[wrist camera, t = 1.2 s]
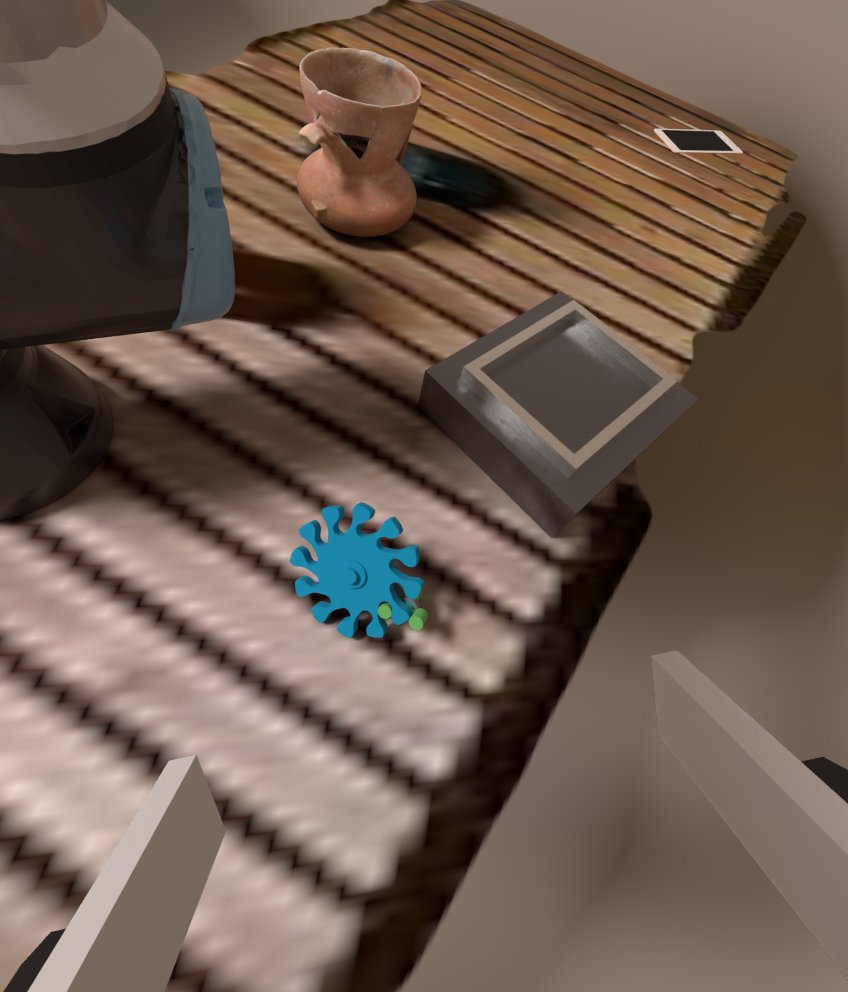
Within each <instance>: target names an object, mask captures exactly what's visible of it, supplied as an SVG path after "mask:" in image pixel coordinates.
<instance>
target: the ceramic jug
mask: <svg viewBox="0 0 848 992" xmlns="http://www.w3.org/2000/svg"><path fill="white" fill-rule="evenodd" d="M300 78H301V84H302V89H303V94H304V98H305V102H306V105H307V109H308V112H309V115H310V119H311V121H312V123H310V124H308V125H306V126H305V127H303V128H302V129H301V130H300V132H299V137H300V139H301V140H302V141H303V143H304V144H305V145H307V146H310V147H316V146H317V145H318V144H319V143H320V144H321V146H322V148H321V149H319V150H317V151H316V152H314V153H312V154H311V155H310V156H309V157H308V158H307V159H306V160H305V161H304V162H303V164H302V166H301V168H300V170H299V173H298V178H297V186H298V192H299V195H300V198H301V200H302V202H303V204H304V206H305V208H306V209H307V210H308V212H309V213H310V214H311V215H312V216H313V217H314V218H315V219H316V220H317V221H319V222H320V223H322V224H323V225H325V226H326V227H328V228H330V229H332V230H335V231H337V232H340V233H343V234H347V235H352V236H359V237H375V236H381V235H386V234H389V233H392V232H394V231H396V230H398V229H399V228H401V227H402V226H403V225H405V224H406V223H407V222H408V220H409V219H410V218H411V216H412V214H413V212H414V210H415V207H416V202H417V195H416V189H415V186H414V183H413V181H412V179H411V177H410V176H409V174H408V173H407V172H406V170H405V169H404V168H403V167H402V166H401V165H400V162H401V160H402V158H403V155H404V153H405V150H406V146H407V143H408V140H409V137H410V133H411V129H412V125H413V121H414V119H415V116H416V113H417V109H418V106H419V102H420V98H421V92H422V89H421V84H420V82H419V80H418V78H417V77H416V75H415V74H414V73H413V72H412V71H410V70H408V69H407V68H406V66H404V65H403V64H401V63H400V62H398V61H396V60H394V59H392V58H387V57H384V56H381V55H379V54H377V53H374V52H371V51H365V50H358V49H353V48H327V49H319V50H316V51H314V52H311V53H309V54H308V55H306V57H304V58H303V59H302V61H301V64H300Z"/></svg>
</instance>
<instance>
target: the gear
mask: <svg viewBox="0 0 848 992" xmlns="http://www.w3.org/2000/svg"><path fill="white" fill-rule="evenodd" d="M374 514H375V510H374V509H373V508H372V507H371V506H369V505H367V504H365V503H362V502H361V503H359V504H357V505H356V506H355V507H354V508H353V521H352V524H351V527H350V528H349V530H348V531H347V532H346V533H343V532H341V531H340V529H339V527H338V524H339V522H340V520H341V519H342V518H343V516H344V508H343V507H342V506H337V505H335V506H328V507H326V508H324V509H323V510H322V516H323V518H324V520H325V521H326V524H327V527H328V532H329V533H328V542H327V543H325V542H323V541H322V540H321V537H320V533H321V526H320V524H319V522H318V521H316V520H314V521H311V522H309V523H307V524H305V525H304V526H303V527H301V528H300V529H299V533H300V535H301V536H302V537H303V538H304V539H306V540H307V541H308V542H309V543H310V544H311V545H312V546H313V548H314V549H315V552H316V554H317V557H318V562H317V561H314V560H313V559H312V557H311V554H310V552H309V550H308V549H307V548H306V547H304V546H300V547H298V548H296V549H295V550H294V551H293V553H292V555H291V558H290V562H291V564H293V565H294V566H300V567H304V568H307V569H308V570H310V571H311V572H313V573H314V574H315V575H316V576H317V577H318V579H319V583H316V582H315V581H314V580H313V579H311V578H310V577H309V576H302V577H301V578H299V579H298V580H296V582H295V587H296V592H297V595H298V596H306V595H307V594H310V593H320V594H324V595H327V596H328V597H329V598H330V600H331V603H327V602H324V601H321V602H319V603H317V604H316V605H315V606H314V607H313V608H312V609H311V612H312V614H313V616H314V617H315V619H316V620H317V621H318V622H319V623H321V622H324V621H325V620H326V619H327V618H328V617H329V616H330V615H331V613H332V611H334V610H336V609H340V608H346V609H347V610H348V611H349V612H350V616H349V617H346V618H344V619H343V620H342V621H341V622H340V623H339V624H338V626H337V630H338V631H339V632H340V633H341V634H342V635H344V636H346V637H348V638H350V637H352V636H353V634H354V633H355V632H356V631H357V629H358V618H359V615H360V613H361V612H362V611H364V610H366V611H369V612H370V613H371V614H372V617H373V620H372V621H371V623H370V624H369V625H368V626H367V630H366V631H367V634H368V636H371V637H383V636H384V634H385V633H386V631H387V624H386V622H385V620H384V619H388V618H390V616H391V618H392V621H393V622H394V623H395V624H396V625H399V624H402V623H404V622H406V621H407V620H408V619H409V626H410V627H411V628H412V629H414V630H420V629H421V628H422V627H423V625H424V623H425V622H426V620H427V618H428V614H427V612H426V611H425V610H424V609H422V608H420V603H419V598H420V597H421V595H422V593H423V592H422V588H423V586H424V583H425V582H424V581H423V580H422V579H421V578H418V577H411V576H408V575H405V574H403V573H402V572H401V571H399V570H398V569H397V568H396V567H395V566H394V564H393V559H399V560H400V561H401V562H402V563H403V564H405V565H406V566H408V567H414V566H416V565H417V564H418V563H419V560H420V552H419V547H418V546H416V545H410V546H408V547H406V548H404V549H390V548H387V547H384V546H383V545H382V543H381V537H387V538H396V537H397V536H399V535H400V534H401V533H402V532H403V528H402V526H401V524H400V522H399V521H398V520H397V519H396V517H391V518H389V519H388V520H387V521H385V522H384V523H383V525H382V527H381V528H380V530H379V531H378V532H375V533H372V534H364V533H363V532H362V530H361V523H363V522H366V521H368V520H369V519H371V518H372V517H373V516H374ZM383 601H384V602H383ZM382 602H383V603H382Z"/></svg>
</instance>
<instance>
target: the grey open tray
mask: <svg viewBox="0 0 848 992" xmlns="http://www.w3.org/2000/svg"><path fill="white" fill-rule="evenodd" d="M697 400H698V398H697V397H696V396H694V395H693V394H692V393H691V392H689V391H688V390H687V389H685V388H684V387H683V386H682V385H680V384H679V383H678V382H677V380H676V379H674V378H673V377H672V376H671V375H669V374H668V373H667V372H665V371H664V370H663V369H662V368H660V367H659V366H658V365H656V364H655V363H654V362H653V361H651V360H650V359H649V358H648V357H646V356H645V355H644V354H642V353H641V352H640V351H639V350H637V349H636V348H635V347H633V346H632V345H631V344H630V343H628V342H627V341H626V340H624V339H623V338H622V337H621V336H619V335H618V334H617V333H616V332H614V331H613V330H612V329H610V328H609V327H608V326H607V325H605V324H604V323H603V322H601V321H600V320H599V319H598V318H596V317H595V316H594V315H592V314H591V313H590V312H589V311H587V310H586V309H585V308H583V307H582V306H581V305H580V304H578V303H577V302H576V301H575V300H572V299H570V298H569V297H568V296H567V295H565V294H564V293H563V292H559V293H558V294H556V295H554V296H553V297H551V298H549V299H547V300H546V301H544V302H542V303H541V304H539V305H537V306H535V307H534V308H532V309H530V310H528V311H527V312H525V313H523V314H522V315H520V316H518V317H516V318H515V319H513V320H511V321H510V322H508V323H506V324H504V325H503V326H501V327H499V328H497V329H496V330H494V331H492V332H491V333H489V334H487V335H485V336H484V337H482V338H480V339H479V340H477V341H475V342H473V343H472V344H470V345H468V346H467V347H465V348H463V349H461V350H460V351H458V352H456V353H454V354H453V355H451V356H449V357H448V358H446V359H444V360H442V361H441V362H439V363H437V364H436V365H434V366H432V367H430V368H429V369H427V370H425V374H424V379H423V384H422V389H421V394H420V398H419V403H418V407H419V408H420V409H421V410H422V411H423V412H424V413H425V414H426V415H427V416H428V417H429V418H430V419H431V420H432V421H433V422H434V423H436V424H437V425H438V426H439V427H440V428H441V429H442V430H443V431H444V432H445V433H446V434H447V435H448V436H449V437H450V438H451V439H452V440H453V441H454V442H455V443H456V444H457V445H458V446H459V447H460V448H461V449H462V450H463V451H464V452H465V453H466V454H467V455H468V456H469V457H470V458H471V459H472V460H473V461H474V462H475V463H476V464H477V465H478V466H479V467H480V468H481V469H482V470H483V471H484V472H485V473H486V474H487V475H488V476H489V477H490V478H491V479H492V480H493V481H494V482H495V483H496V484H497V485H498V486H499V487H500V488H501V489H502V490H503V491H505V492H506V493H507V494H508V495H509V496H510V497H511V498H512V499H513V500H514V501H515V502H516V503H517V504H518V505H519V506H520V507H521V508H522V509H523V510H524V511H525V512H526V513H527V514H528V515H529V516H530V517H531V518H532V519H533V520H534V521H535V522H536V523H537V524H538V525H539V526H540V527H541V528H542V529H543V530H544V531H545V532H546V533H547V534H548V535H549V536H550V537H551V538H552V537H553V536H554V535H555V534H556V533H557V532H558V531H559V530H560V529H561V528H562V527H563V526H564V525H565V524H567V523H568V522H569V521H570V520H571V519H572V518H573V517H574V516H575V515H576V514H577V513H578V512H579V511H580V510H581V509H583V508H584V507H585V506H586V505H587V504H588V503H589V502H590V501H591V500H592V499H593V498H594V497H595V496H596V495H597V494H599V493H600V492H601V491H602V490H603V489H604V488H605V487H606V486H607V485H608V484H609V483H610V482H611V481H612V480H613V479H615V478H616V477H617V476H618V475H619V474H620V473H621V472H622V471H623V470H624V469H625V468H626V467H627V466H628V465H629V464H630V463H632V462H633V461H634V460H635V459H636V458H637V457H638V456H639V455H640V454H641V453H642V452H643V451H644V450H645V449H646V448H647V447H649V446H650V445H651V444H652V443H653V442H654V441H655V440H656V439H657V438H658V437H659V436H660V435H661V434H662V433H663V432H665V431H666V430H667V429H668V428H669V427H670V426H671V425H672V424H673V423H674V422H675V421H676V420H677V419H678V418H679V417H680V416H681V415H682V414H683V413H685V412H686V411H687V410H688V409H689V408H690V407H691V406H692V405H693V404H694V403H695V402H696V401H697Z"/></svg>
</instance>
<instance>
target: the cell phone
mask: <svg viewBox="0 0 848 992" xmlns="http://www.w3.org/2000/svg"><path fill="white" fill-rule="evenodd" d="M654 132H655V133H656V134H657V135H658V136H659V137H660V138H661V139H662V141H663V142H664V143H665V144H666V145H667V146H668V147H669V148H670V149H671V150H672V151H673V152H674V153H704V154H742V153H743V152H742V151H741V150H740V149H739V148H738V147H737V146H736V145H735V144H734V143H733V142H732V141H731V140H730V139H729V138H728V137H727V136H726V135H725V134H724V133H722V132H721V131H712V130H681V129H654Z"/></svg>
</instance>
